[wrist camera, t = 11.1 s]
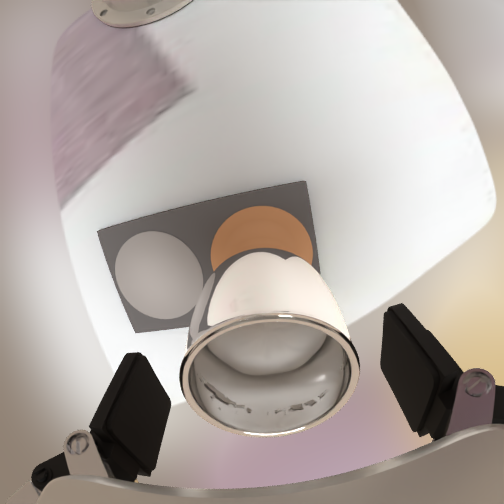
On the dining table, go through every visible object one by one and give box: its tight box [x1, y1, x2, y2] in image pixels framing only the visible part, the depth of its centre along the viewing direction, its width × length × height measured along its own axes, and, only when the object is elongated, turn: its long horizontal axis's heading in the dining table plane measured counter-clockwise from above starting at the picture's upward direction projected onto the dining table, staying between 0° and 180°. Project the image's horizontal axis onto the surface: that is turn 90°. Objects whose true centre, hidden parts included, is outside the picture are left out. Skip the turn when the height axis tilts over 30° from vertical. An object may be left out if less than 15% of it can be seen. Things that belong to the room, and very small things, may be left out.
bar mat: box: [97, 181, 321, 333], centre depth 24 cm, size 11×19×1 cm, turn 102°
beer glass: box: [179, 220, 360, 437], centre depth 16 cm, size 7×7×15 cm
